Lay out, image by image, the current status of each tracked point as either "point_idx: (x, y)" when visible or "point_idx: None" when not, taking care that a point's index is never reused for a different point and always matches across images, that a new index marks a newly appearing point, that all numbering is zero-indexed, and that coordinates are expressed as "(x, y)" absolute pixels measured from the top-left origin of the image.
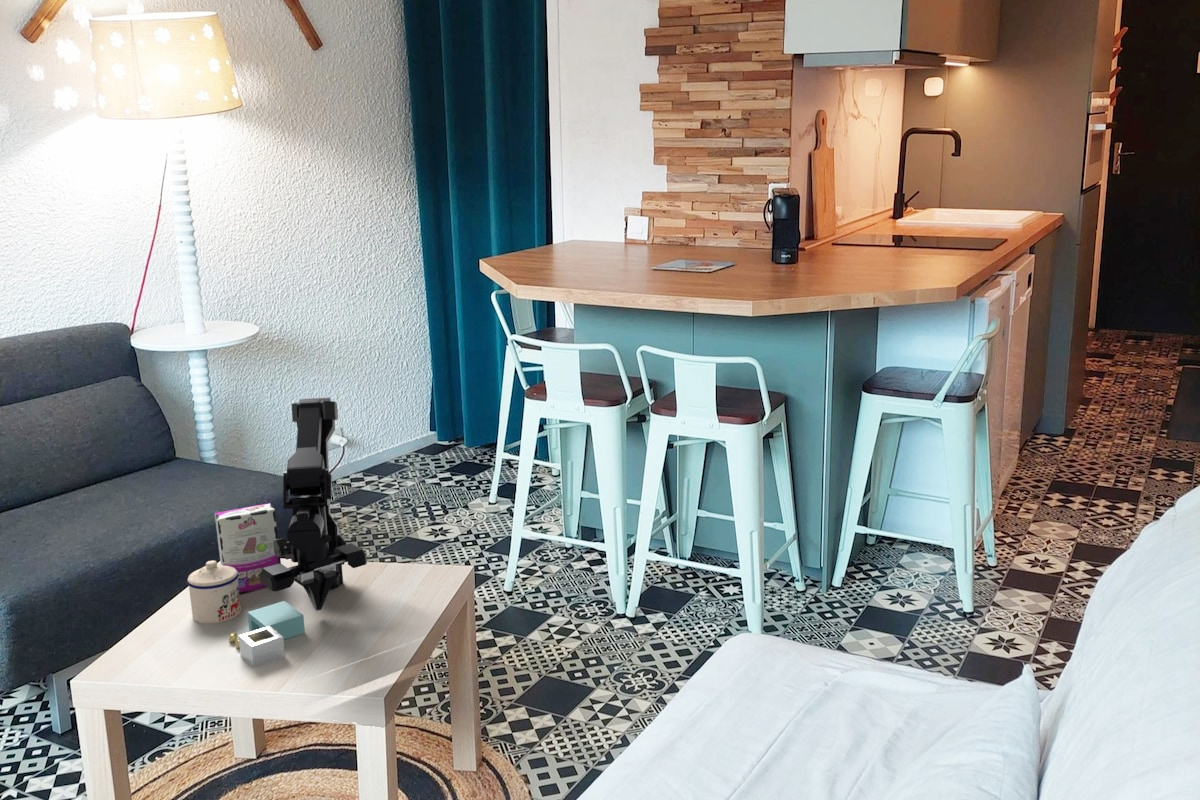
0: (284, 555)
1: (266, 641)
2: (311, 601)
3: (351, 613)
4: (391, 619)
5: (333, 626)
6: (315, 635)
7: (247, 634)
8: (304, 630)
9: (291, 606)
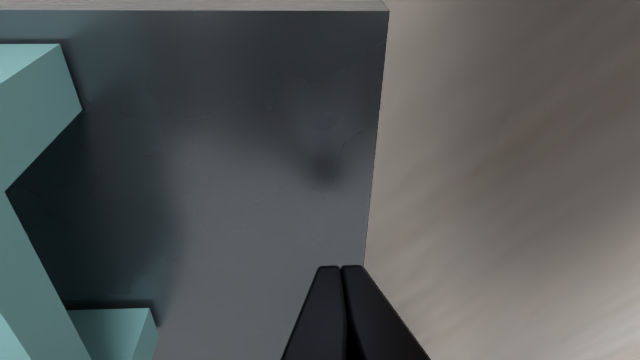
0: None
1: None
2: (292, 337)
3: (593, 170)
4: (630, 340)
5: (383, 253)
6: None
7: None
8: (152, 351)
9: (21, 348)
